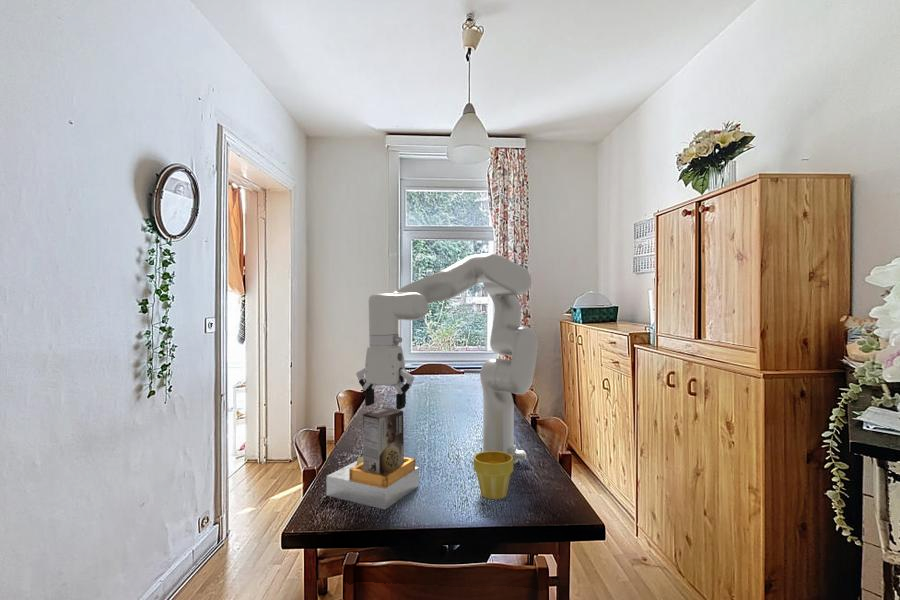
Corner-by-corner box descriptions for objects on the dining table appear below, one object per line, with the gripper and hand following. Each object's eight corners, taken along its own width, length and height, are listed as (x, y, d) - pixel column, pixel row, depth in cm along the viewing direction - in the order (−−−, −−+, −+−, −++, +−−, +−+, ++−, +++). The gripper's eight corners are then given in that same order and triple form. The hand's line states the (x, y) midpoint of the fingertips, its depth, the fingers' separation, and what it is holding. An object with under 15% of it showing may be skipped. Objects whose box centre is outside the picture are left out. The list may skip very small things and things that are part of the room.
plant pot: (465, 494, 123) (465, 456, 123) (491, 483, 130) (491, 447, 130) (495, 506, 116) (496, 466, 115) (521, 494, 123) (521, 456, 123)
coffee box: (387, 465, 129) (387, 406, 129) (404, 471, 125) (404, 410, 125) (361, 475, 122) (362, 413, 122) (379, 481, 118) (379, 417, 118)
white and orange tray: (418, 485, 128) (418, 458, 128) (385, 509, 114) (385, 478, 114) (364, 474, 136) (364, 448, 136) (326, 495, 122) (326, 466, 122)
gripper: (420, 340, 123) (421, 406, 123) (365, 338, 131) (366, 400, 131) (404, 343, 116) (405, 413, 117) (348, 341, 124) (349, 406, 124)
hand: (385, 406), depth 124 cm, fingers open, 9 cm apart
